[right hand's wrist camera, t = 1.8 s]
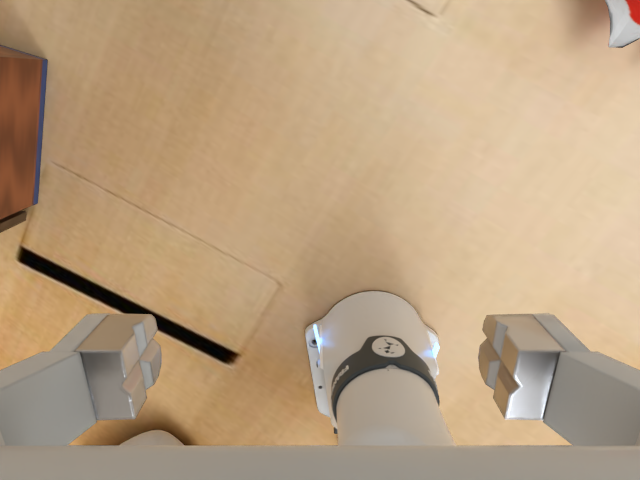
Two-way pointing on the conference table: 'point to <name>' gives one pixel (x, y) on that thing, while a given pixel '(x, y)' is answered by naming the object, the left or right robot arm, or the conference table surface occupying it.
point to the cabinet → (20, 128)
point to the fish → (623, 22)
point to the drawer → (12, 220)
